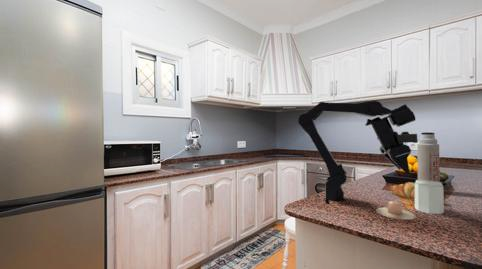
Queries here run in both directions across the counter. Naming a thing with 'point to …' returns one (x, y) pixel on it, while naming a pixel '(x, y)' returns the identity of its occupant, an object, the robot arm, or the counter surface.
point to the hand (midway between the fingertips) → (404, 170)
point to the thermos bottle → (428, 158)
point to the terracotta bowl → (395, 207)
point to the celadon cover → (429, 196)
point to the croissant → (404, 190)
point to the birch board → (404, 215)
